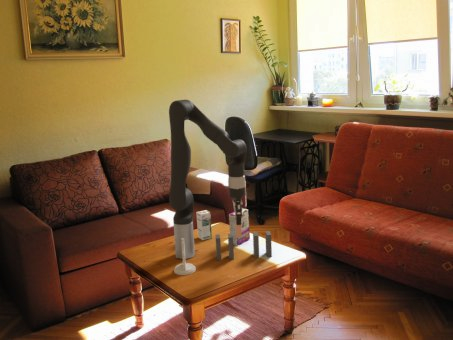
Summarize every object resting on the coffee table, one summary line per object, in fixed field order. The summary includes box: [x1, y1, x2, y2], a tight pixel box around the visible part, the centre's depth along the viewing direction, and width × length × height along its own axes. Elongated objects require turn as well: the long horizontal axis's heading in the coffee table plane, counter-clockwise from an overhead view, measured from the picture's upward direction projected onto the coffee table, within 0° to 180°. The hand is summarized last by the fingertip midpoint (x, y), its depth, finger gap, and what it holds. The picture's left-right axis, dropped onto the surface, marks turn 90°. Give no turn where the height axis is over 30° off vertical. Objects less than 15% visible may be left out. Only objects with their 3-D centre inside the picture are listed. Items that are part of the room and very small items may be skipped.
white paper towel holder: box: [173, 238, 197, 276], centre depth 213 cm, size 10×10×15 cm
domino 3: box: [235, 212, 242, 238], centre depth 211 cm, size 2×5×11 cm, turn 4°
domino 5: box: [264, 230, 273, 258], centre depth 226 cm, size 2×5×11 cm, turn 4°
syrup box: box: [195, 209, 213, 241], centre depth 251 cm, size 6×6×14 cm
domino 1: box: [215, 234, 222, 261], centre depth 225 cm, size 2×5×11 cm, turn 4°
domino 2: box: [227, 233, 235, 261], centre depth 225 cm, size 2×5×11 cm, turn 4°
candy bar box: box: [228, 207, 251, 247], centre depth 243 cm, size 11×5×16 cm, turn 143°
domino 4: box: [252, 231, 260, 259], centre depth 226 cm, size 2×5×11 cm, turn 4°
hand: (238, 222), depth 211 cm, fingers closed on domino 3, 5 cm apart
